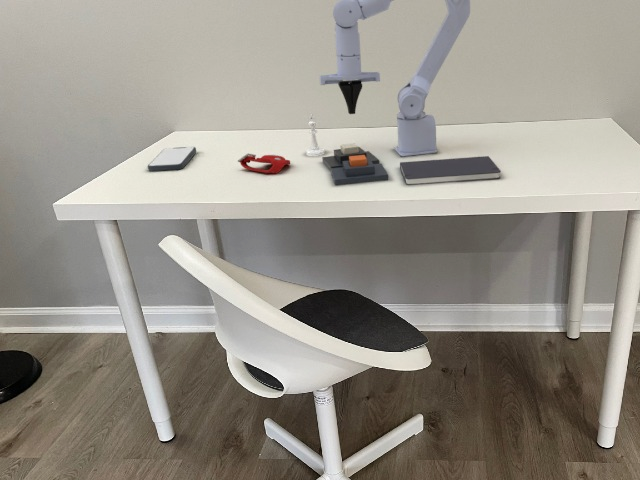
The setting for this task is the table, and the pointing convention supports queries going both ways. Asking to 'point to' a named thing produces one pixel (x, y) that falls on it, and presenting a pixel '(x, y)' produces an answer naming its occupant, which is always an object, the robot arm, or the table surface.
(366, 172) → the slotted grey holder
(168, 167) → the phone case
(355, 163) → the orange key
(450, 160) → the notebook
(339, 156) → the dark grey stepped base
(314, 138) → the chess piece
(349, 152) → the cream key
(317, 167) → the table surface
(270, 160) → the red curved piece
